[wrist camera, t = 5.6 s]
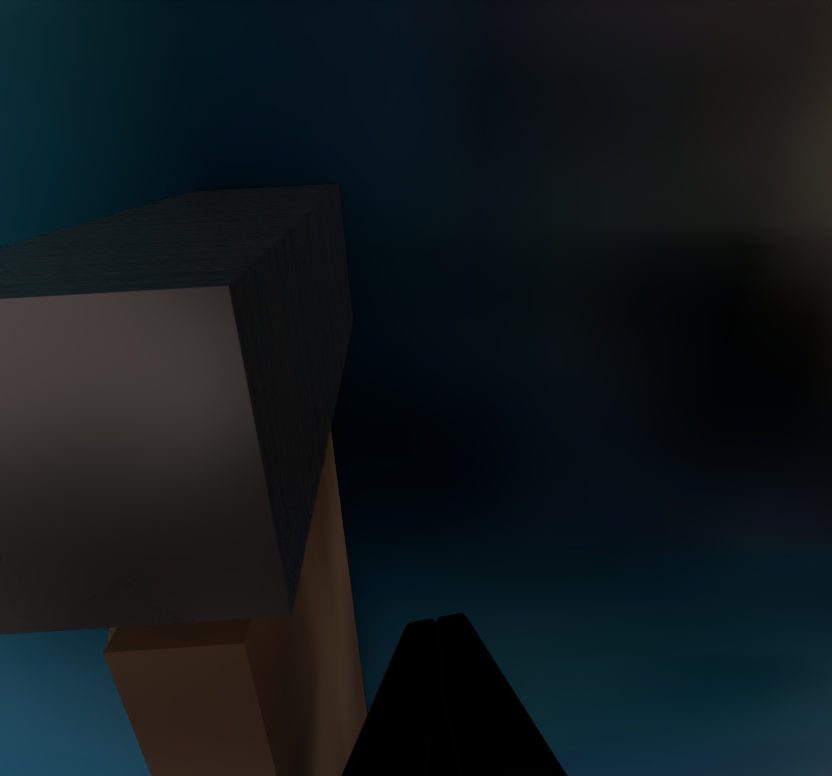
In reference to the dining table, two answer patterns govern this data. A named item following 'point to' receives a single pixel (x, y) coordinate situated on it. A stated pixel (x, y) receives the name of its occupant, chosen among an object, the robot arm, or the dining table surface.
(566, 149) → the dining table surface
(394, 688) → the robot arm
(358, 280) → the dining table surface
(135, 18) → the dining table surface
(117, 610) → the frame
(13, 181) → the dining table surface
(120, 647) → the brown wooden plank
